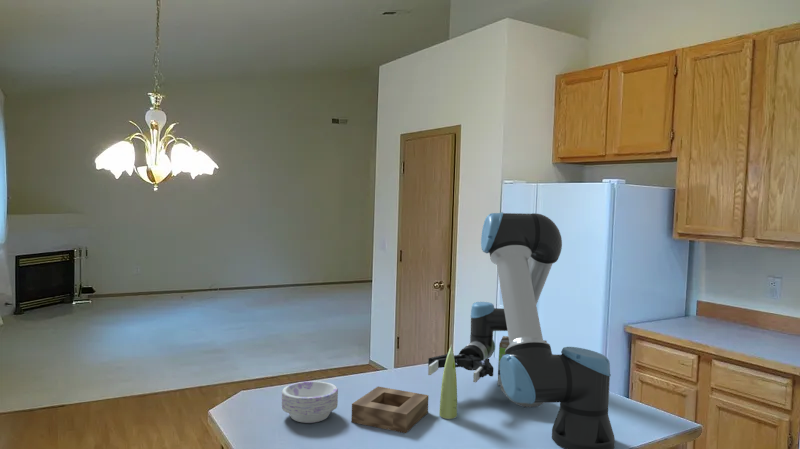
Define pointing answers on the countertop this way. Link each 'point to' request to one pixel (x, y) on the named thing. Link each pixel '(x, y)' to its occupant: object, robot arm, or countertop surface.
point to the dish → (521, 403)
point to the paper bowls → (309, 400)
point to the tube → (449, 388)
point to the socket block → (390, 409)
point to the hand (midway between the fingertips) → (451, 374)
